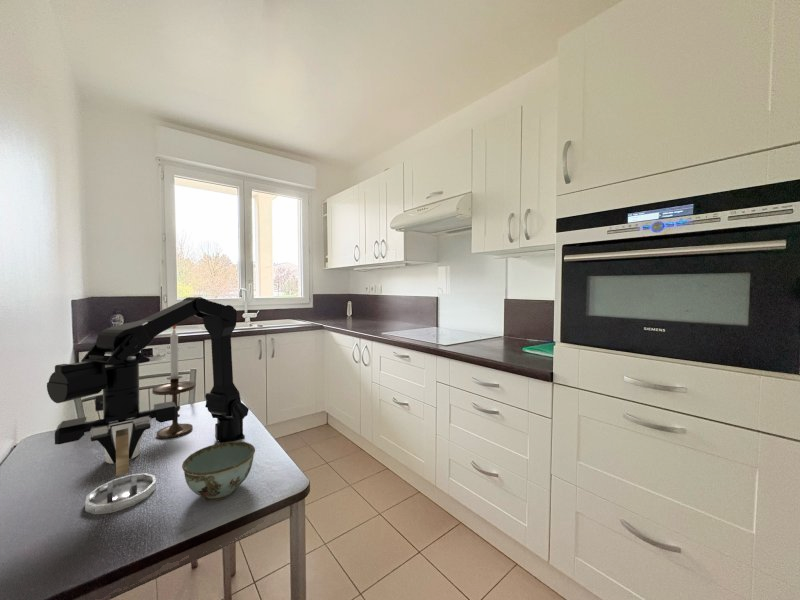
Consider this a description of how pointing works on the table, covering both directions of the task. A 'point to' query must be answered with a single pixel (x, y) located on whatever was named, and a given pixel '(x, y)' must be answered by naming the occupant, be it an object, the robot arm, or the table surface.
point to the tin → (120, 493)
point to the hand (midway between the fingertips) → (122, 460)
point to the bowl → (218, 469)
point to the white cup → (137, 449)
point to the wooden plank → (122, 451)
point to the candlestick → (174, 393)
